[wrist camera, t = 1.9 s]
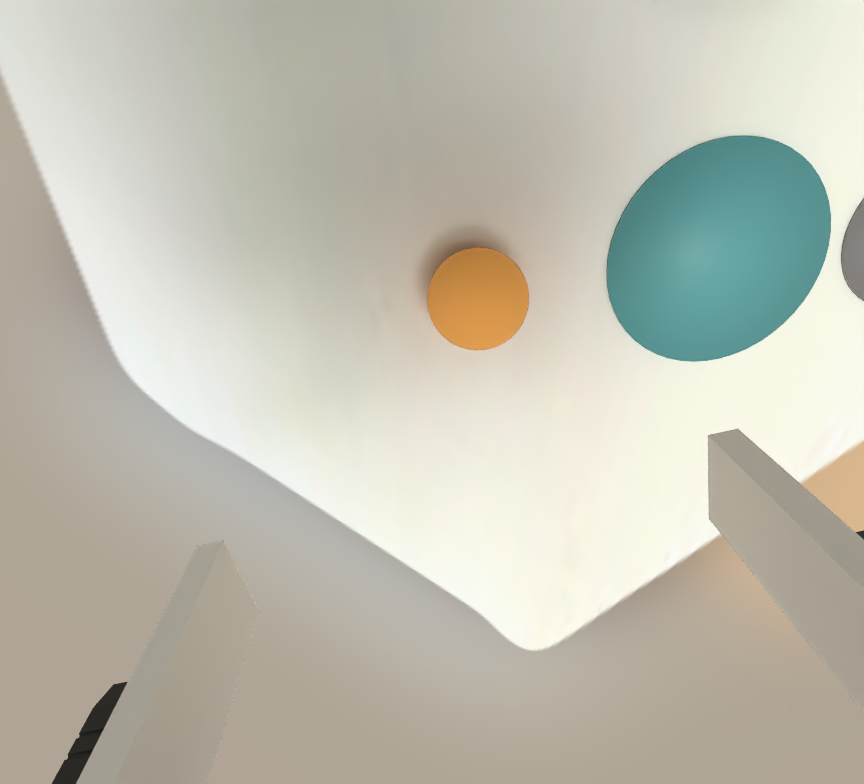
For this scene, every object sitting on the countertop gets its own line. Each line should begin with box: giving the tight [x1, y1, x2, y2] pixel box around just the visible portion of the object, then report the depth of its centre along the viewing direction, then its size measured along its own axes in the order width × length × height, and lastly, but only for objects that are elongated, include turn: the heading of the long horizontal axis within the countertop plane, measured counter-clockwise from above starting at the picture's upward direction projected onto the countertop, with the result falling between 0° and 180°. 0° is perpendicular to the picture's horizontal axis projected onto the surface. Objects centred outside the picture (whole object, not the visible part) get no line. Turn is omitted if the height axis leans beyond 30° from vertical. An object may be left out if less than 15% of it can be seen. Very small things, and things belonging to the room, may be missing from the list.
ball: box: [427, 248, 529, 350], centre depth 30 cm, size 6×6×6 cm
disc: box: [607, 136, 831, 361], centre depth 32 cm, size 13×13×1 cm
